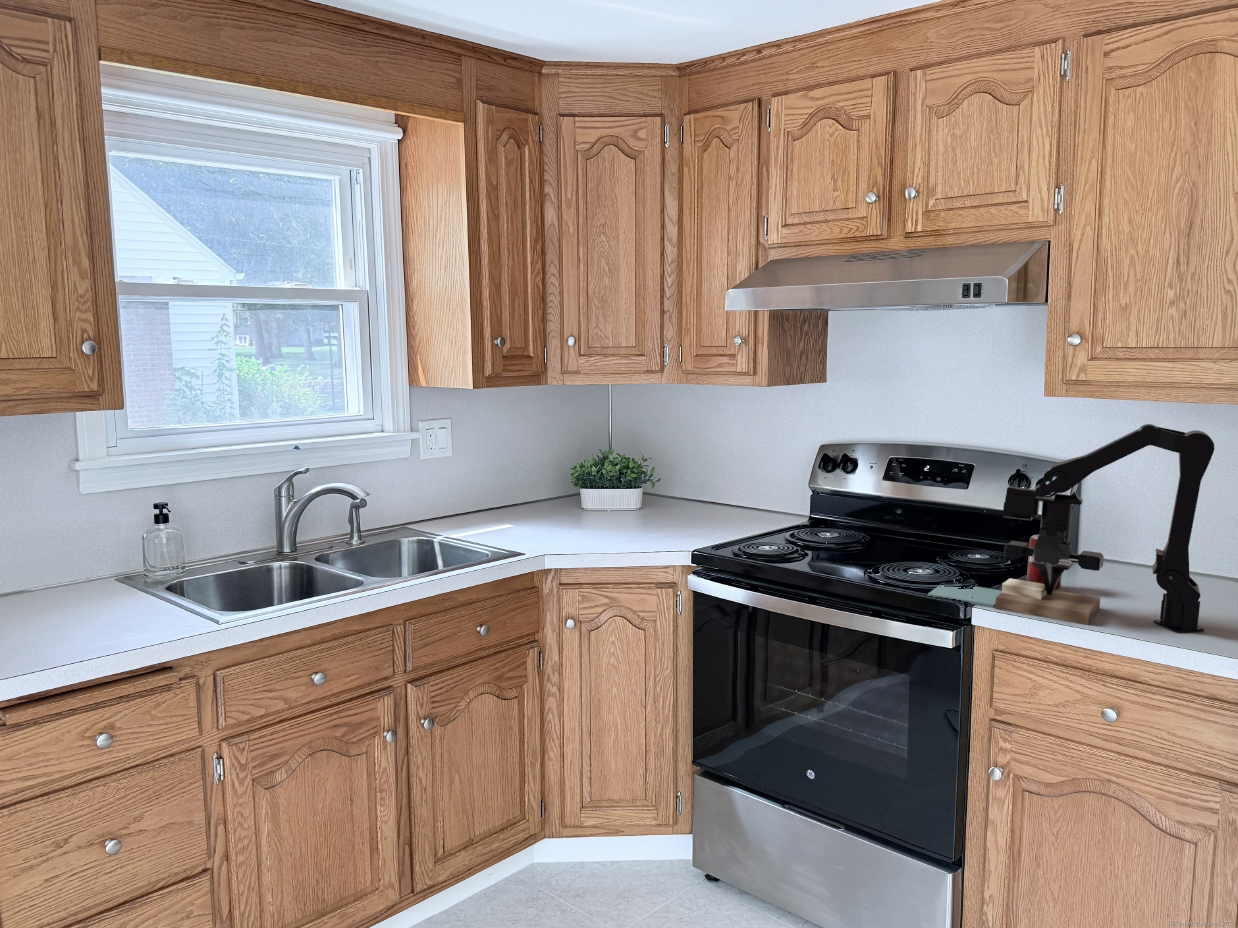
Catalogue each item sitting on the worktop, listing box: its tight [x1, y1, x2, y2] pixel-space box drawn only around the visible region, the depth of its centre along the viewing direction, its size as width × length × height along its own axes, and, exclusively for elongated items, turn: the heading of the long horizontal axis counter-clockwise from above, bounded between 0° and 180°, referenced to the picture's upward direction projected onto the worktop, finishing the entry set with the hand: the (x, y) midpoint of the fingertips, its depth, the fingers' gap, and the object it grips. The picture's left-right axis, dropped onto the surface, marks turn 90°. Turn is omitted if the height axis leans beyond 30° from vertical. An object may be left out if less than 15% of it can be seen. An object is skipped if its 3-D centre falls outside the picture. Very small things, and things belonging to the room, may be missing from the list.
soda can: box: [1026, 534, 1063, 591], centre depth 216 cm, size 7×7×12 cm
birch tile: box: [1001, 577, 1047, 600], centre depth 203 cm, size 8×6×2 cm
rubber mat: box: [927, 584, 1002, 608], centre depth 210 cm, size 14×13×1 cm
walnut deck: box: [994, 590, 1101, 626], centre depth 200 cm, size 18×14×2 cm
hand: (1049, 594), depth 200 cm, fingers closed
